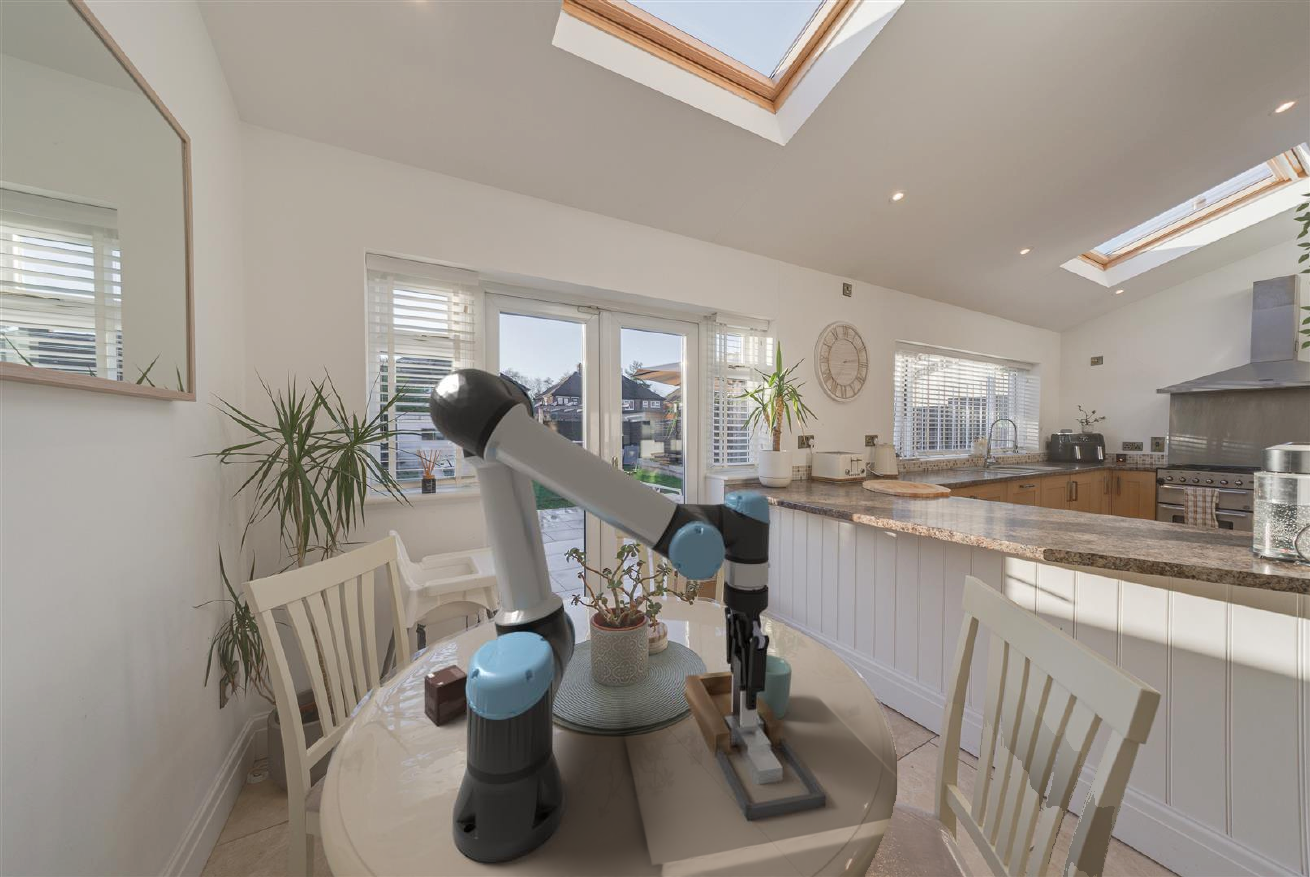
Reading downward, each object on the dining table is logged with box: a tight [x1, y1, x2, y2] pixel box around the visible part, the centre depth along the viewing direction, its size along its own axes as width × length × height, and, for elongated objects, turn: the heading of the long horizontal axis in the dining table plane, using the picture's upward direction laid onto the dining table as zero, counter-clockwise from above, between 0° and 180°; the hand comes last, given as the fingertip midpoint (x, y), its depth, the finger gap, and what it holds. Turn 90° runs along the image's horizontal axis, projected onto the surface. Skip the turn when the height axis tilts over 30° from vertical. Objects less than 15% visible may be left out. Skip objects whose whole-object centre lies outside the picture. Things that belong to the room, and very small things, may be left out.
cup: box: [757, 654, 792, 719], centre depth 87 cm, size 8×8×10 cm
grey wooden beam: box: [724, 653, 764, 745], centre depth 77 cm, size 6×3×14 cm, turn 103°
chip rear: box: [738, 727, 772, 764], centre depth 74 cm, size 4×4×3 cm
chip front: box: [746, 748, 783, 785], centre depth 70 cm, size 4×4×3 cm
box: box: [423, 664, 468, 726], centre depth 86 cm, size 6×6×7 cm
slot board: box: [683, 670, 784, 757], centre depth 83 cm, size 13×18×5 cm
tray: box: [716, 738, 827, 822], centre depth 68 cm, size 12×12×3 cm
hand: (743, 717), depth 77 cm, fingers closed on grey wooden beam, 3 cm apart
